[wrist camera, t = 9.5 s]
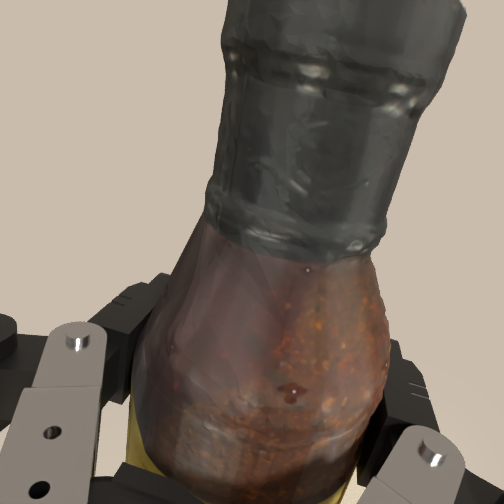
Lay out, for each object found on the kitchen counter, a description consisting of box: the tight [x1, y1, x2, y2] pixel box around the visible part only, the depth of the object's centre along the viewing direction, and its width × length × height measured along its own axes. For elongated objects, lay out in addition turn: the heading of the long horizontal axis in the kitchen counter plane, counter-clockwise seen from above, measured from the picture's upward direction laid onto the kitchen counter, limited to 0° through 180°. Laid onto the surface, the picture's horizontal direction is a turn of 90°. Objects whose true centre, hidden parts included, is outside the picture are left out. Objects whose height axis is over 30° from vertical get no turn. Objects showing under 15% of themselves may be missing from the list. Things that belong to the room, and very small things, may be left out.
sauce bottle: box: [125, 0, 467, 504], centre depth 11 cm, size 7×6×20 cm
